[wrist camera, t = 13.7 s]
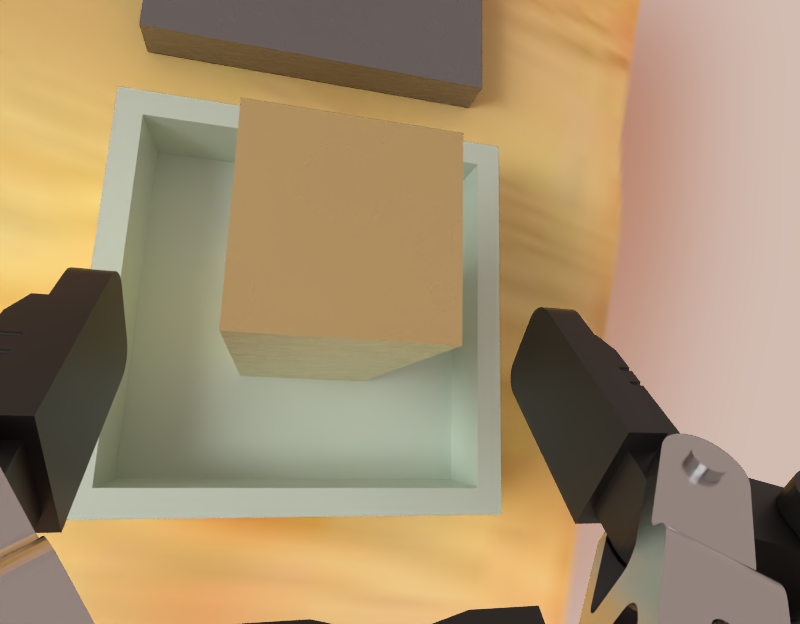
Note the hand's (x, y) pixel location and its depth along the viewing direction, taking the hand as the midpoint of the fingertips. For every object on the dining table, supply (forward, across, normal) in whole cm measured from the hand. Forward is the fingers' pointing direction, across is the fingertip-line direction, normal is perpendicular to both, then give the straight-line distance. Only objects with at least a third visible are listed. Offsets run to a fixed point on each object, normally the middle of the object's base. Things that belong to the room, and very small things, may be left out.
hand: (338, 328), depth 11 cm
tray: (+8, 0, +6) cm, 10 cm away
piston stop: (+7, 0, +5) cm, 9 cm away
